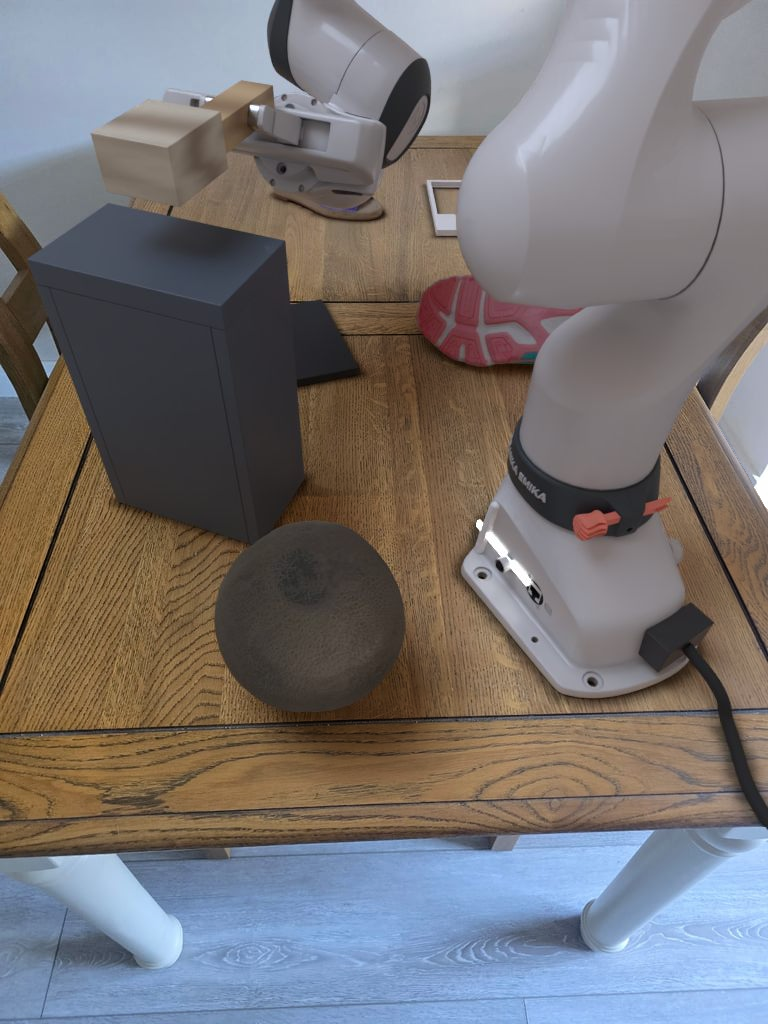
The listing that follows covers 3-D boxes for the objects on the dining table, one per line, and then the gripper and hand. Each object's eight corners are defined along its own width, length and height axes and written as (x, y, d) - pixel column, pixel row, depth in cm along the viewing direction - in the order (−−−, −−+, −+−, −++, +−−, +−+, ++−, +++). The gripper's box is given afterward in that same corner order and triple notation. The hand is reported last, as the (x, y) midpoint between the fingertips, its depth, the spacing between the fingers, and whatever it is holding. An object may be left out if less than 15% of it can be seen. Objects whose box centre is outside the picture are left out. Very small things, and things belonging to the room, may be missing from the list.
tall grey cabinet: (171, 439, 77) (108, 202, 58) (305, 478, 74) (285, 240, 54) (117, 502, 71) (26, 258, 51) (260, 547, 67) (221, 305, 48)
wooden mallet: (229, 108, 61) (222, 55, 59) (291, 119, 60) (288, 65, 57) (105, 192, 50) (89, 132, 47) (179, 207, 49) (167, 147, 46)
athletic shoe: (631, 370, 89) (633, 271, 87) (635, 366, 80) (638, 257, 79) (426, 378, 97) (424, 288, 95) (409, 376, 88) (407, 276, 86)
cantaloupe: (217, 753, 54) (180, 650, 42) (239, 599, 63) (213, 482, 52) (402, 752, 54) (414, 649, 43) (396, 599, 64) (405, 483, 52)
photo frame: (436, 228, 109) (426, 178, 121) (436, 235, 109) (426, 185, 121) (530, 229, 109) (511, 179, 121) (529, 236, 110) (510, 186, 122)
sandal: (363, 229, 110) (364, 126, 99) (261, 198, 117) (250, 98, 106) (389, 209, 115) (392, 109, 104) (289, 181, 121) (282, 83, 110)
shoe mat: (358, 374, 86) (358, 367, 85) (278, 390, 83) (277, 383, 82) (321, 305, 96) (321, 298, 95) (248, 317, 93) (247, 311, 92)
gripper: (210, 95, 71) (122, 48, 58) (402, 128, 66) (354, 85, 53) (202, 163, 73) (117, 133, 60) (389, 200, 68) (340, 175, 56)
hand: (231, 111), depth 57 cm, fingers closed on wooden mallet, 3 cm apart
